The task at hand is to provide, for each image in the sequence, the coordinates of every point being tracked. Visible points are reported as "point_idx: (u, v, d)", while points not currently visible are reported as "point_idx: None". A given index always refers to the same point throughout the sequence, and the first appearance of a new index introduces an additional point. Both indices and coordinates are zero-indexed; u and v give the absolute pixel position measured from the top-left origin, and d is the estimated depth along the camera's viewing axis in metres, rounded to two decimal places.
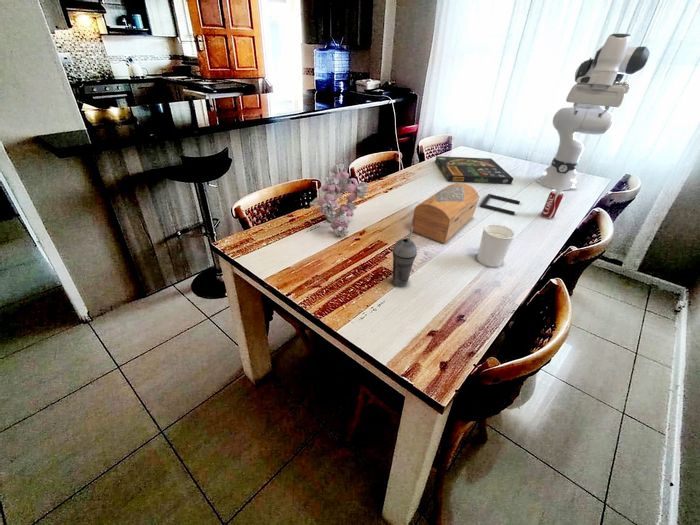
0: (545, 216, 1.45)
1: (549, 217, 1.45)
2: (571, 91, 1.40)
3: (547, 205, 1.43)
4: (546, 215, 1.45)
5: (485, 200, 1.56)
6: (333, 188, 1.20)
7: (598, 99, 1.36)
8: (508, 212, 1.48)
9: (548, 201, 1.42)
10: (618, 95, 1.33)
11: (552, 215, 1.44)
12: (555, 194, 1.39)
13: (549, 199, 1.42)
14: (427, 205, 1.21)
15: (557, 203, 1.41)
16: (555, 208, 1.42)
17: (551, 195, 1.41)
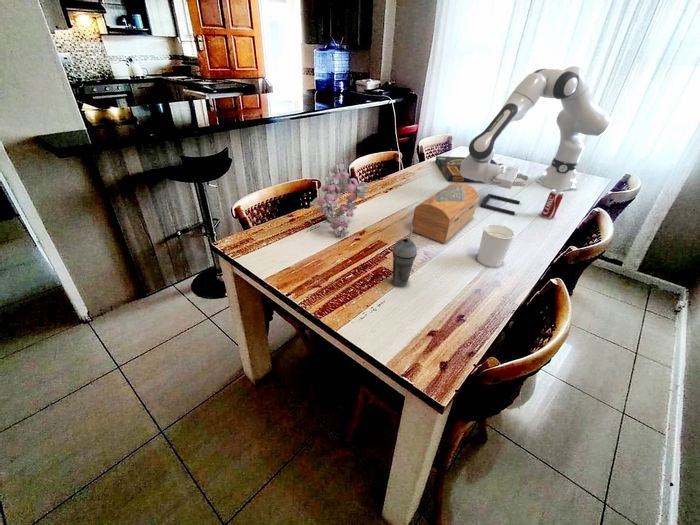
0: (545, 216, 1.45)
1: (549, 217, 1.45)
2: None
3: (547, 205, 1.43)
4: (546, 215, 1.45)
5: (485, 200, 1.56)
6: (333, 188, 1.20)
7: None
8: (508, 212, 1.48)
9: (548, 201, 1.42)
10: None
11: (552, 215, 1.44)
12: (555, 194, 1.39)
13: (549, 199, 1.42)
14: (427, 205, 1.21)
15: (557, 203, 1.41)
16: (555, 208, 1.42)
17: (551, 195, 1.41)
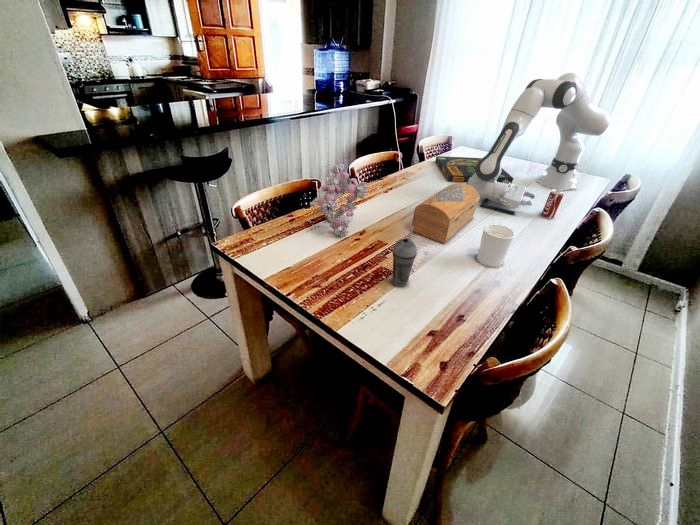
0: (545, 216, 1.45)
1: (549, 217, 1.45)
2: None
3: (547, 205, 1.43)
4: (546, 215, 1.45)
5: (485, 200, 1.56)
6: (333, 188, 1.20)
7: None
8: (508, 212, 1.48)
9: (548, 201, 1.42)
10: None
11: (552, 215, 1.44)
12: (555, 194, 1.39)
13: (549, 199, 1.42)
14: (427, 205, 1.21)
15: (557, 203, 1.41)
16: (555, 208, 1.42)
17: (551, 195, 1.41)
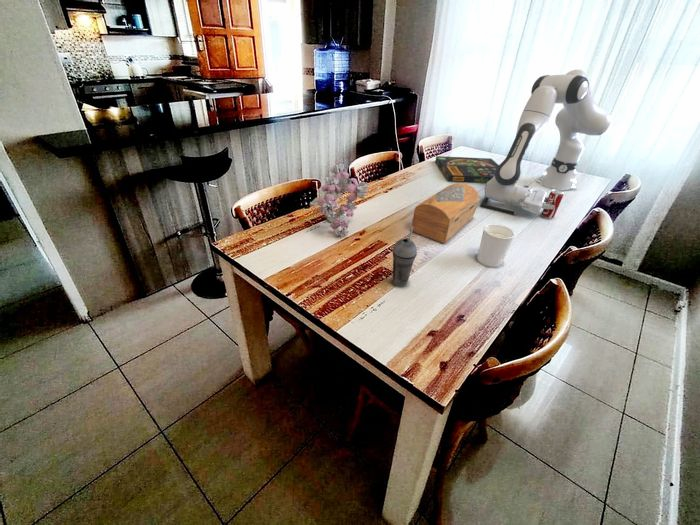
0: (545, 216, 1.45)
1: (549, 217, 1.45)
2: None
3: None
4: (546, 215, 1.45)
5: (485, 200, 1.56)
6: (333, 188, 1.20)
7: None
8: (508, 212, 1.48)
9: (548, 201, 1.42)
10: None
11: (552, 215, 1.44)
12: (555, 194, 1.39)
13: (549, 199, 1.42)
14: (427, 205, 1.21)
15: (557, 203, 1.41)
16: (555, 208, 1.42)
17: (551, 195, 1.41)
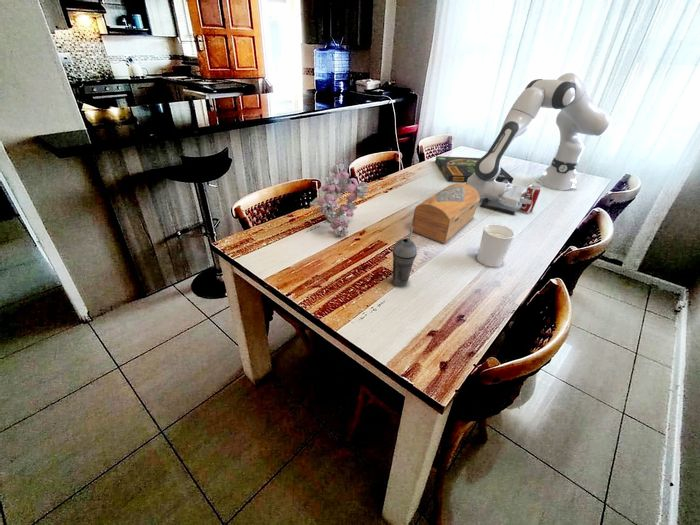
0: (523, 211, 1.49)
1: (527, 212, 1.48)
2: None
3: None
4: (524, 210, 1.49)
5: (485, 200, 1.56)
6: (333, 188, 1.20)
7: None
8: (508, 212, 1.48)
9: (526, 196, 1.46)
10: None
11: (530, 210, 1.48)
12: (532, 189, 1.43)
13: (527, 194, 1.46)
14: (428, 205, 1.21)
15: (534, 198, 1.45)
16: (533, 203, 1.46)
17: (528, 190, 1.44)
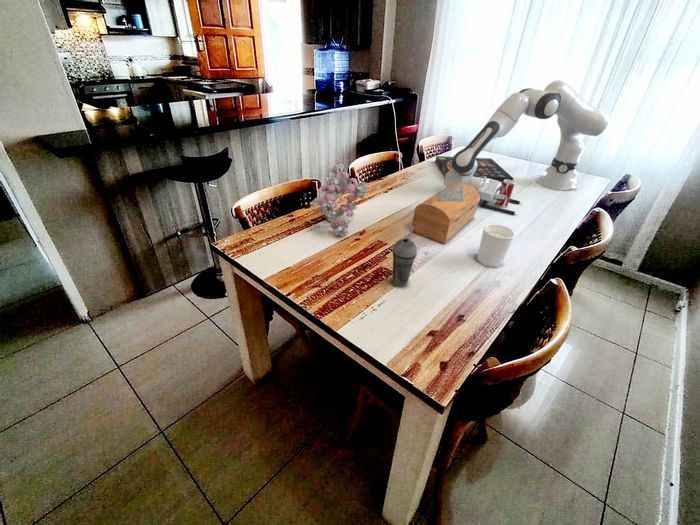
0: (499, 205, 1.54)
1: (502, 205, 1.53)
2: None
3: None
4: (499, 204, 1.53)
5: (485, 200, 1.56)
6: (333, 188, 1.20)
7: None
8: (508, 212, 1.48)
9: (501, 190, 1.51)
10: None
11: (505, 204, 1.52)
12: (506, 183, 1.48)
13: (501, 188, 1.50)
14: (428, 205, 1.21)
15: (509, 192, 1.49)
16: (507, 197, 1.50)
17: (503, 184, 1.49)
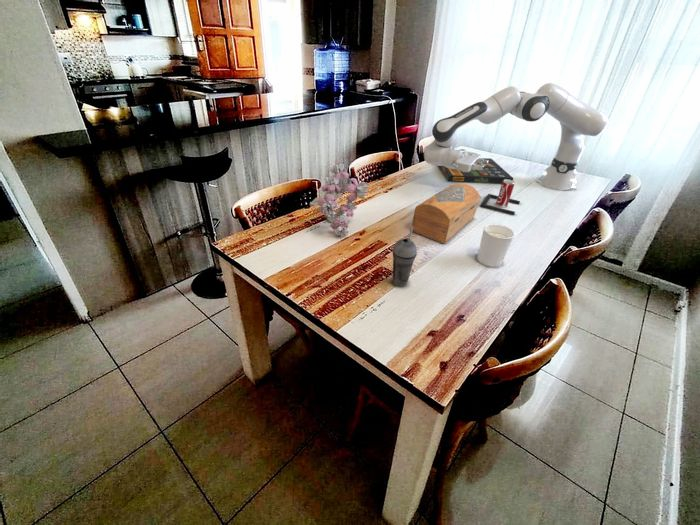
0: (499, 205, 1.54)
1: (502, 205, 1.53)
2: None
3: (500, 194, 1.52)
4: (499, 204, 1.53)
5: (485, 200, 1.56)
6: (333, 188, 1.20)
7: None
8: (508, 212, 1.48)
9: (501, 190, 1.51)
10: None
11: (505, 204, 1.52)
12: (506, 183, 1.48)
13: (501, 188, 1.50)
14: (428, 205, 1.21)
15: (509, 192, 1.49)
16: (507, 197, 1.50)
17: (503, 184, 1.49)
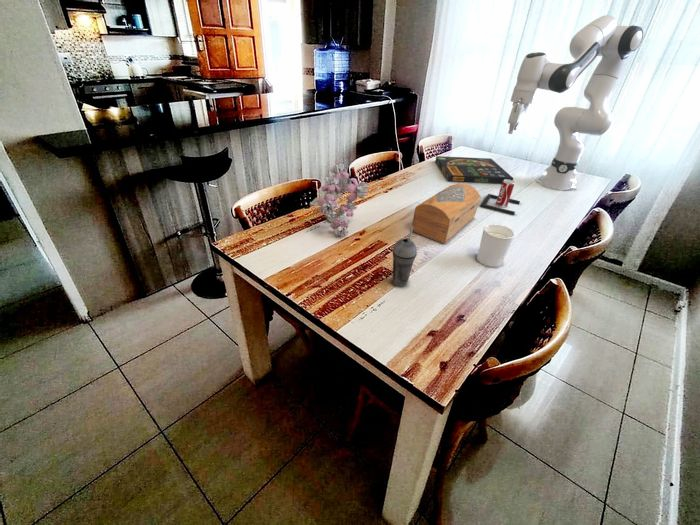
0: (499, 205, 1.54)
1: (502, 205, 1.53)
2: None
3: (500, 194, 1.52)
4: (499, 204, 1.53)
5: (485, 200, 1.56)
6: (333, 188, 1.20)
7: None
8: (508, 212, 1.48)
9: (501, 190, 1.51)
10: None
11: (505, 204, 1.52)
12: (506, 183, 1.48)
13: (501, 188, 1.50)
14: (428, 205, 1.21)
15: (509, 192, 1.49)
16: (507, 197, 1.50)
17: (503, 184, 1.49)
